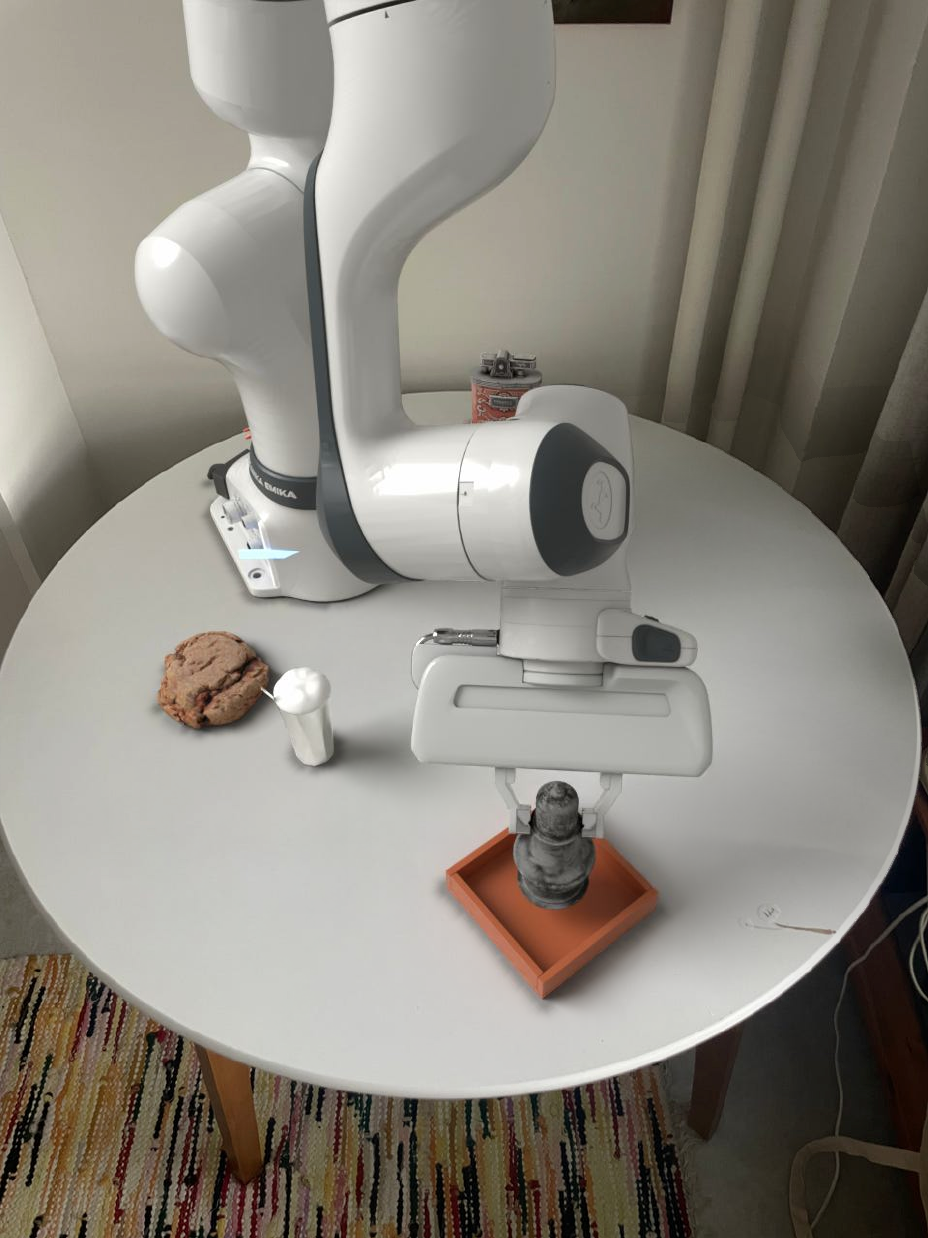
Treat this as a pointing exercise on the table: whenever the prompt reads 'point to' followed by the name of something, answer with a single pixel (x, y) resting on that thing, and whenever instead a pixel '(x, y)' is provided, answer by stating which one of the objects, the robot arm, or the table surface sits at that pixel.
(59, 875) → the table surface
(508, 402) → the lighter
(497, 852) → the tray
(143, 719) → the table surface
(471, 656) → the robot arm
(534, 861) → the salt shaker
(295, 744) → the milkshake cup
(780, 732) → the table surface
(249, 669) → the cookie
